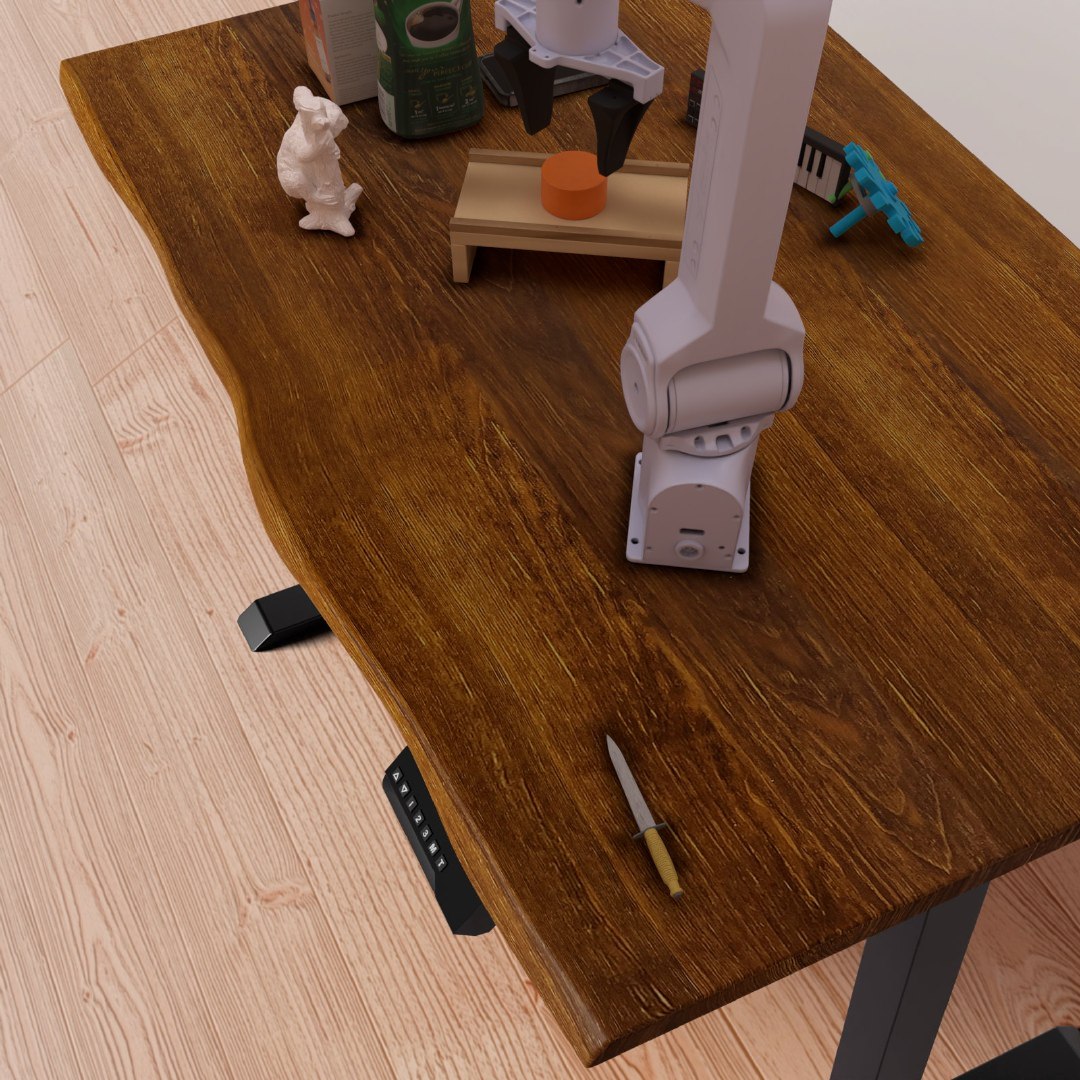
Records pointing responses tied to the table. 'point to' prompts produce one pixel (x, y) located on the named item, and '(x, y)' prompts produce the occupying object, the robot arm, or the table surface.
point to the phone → (563, 80)
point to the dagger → (645, 821)
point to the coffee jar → (427, 67)
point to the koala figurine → (317, 164)
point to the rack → (523, 223)
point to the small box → (342, 47)
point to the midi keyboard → (817, 158)
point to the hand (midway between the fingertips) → (573, 149)
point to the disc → (573, 185)
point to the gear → (874, 198)
